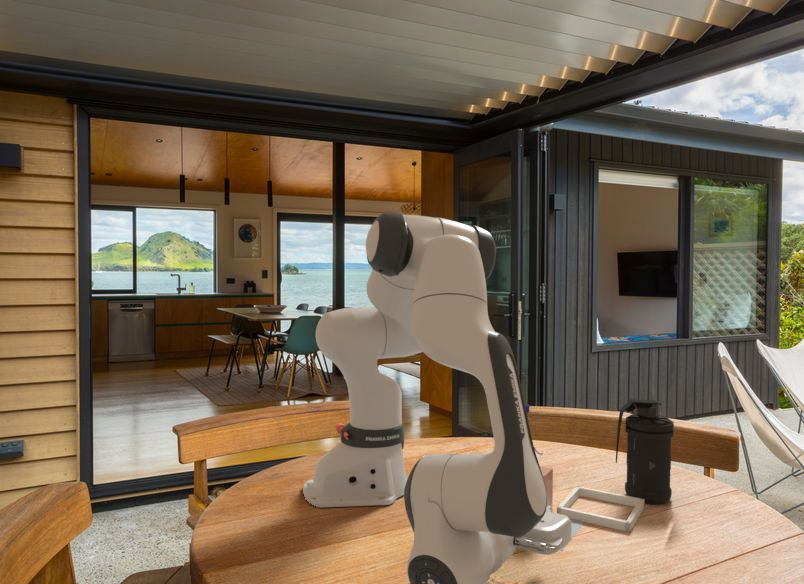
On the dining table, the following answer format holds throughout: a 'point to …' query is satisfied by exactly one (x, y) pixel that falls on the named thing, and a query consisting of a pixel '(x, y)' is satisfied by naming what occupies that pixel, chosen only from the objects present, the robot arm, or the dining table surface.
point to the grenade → (647, 451)
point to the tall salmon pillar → (548, 483)
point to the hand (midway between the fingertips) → (519, 504)
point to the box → (600, 519)
